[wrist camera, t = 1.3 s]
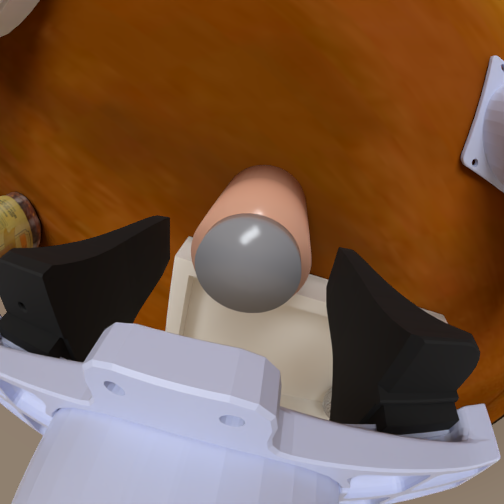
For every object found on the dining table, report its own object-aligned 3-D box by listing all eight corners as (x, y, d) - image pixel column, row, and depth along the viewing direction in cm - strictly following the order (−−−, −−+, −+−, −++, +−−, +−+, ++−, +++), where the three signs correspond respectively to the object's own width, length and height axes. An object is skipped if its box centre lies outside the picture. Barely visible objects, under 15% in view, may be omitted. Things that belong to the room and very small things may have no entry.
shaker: (318, 180, 16) (333, 236, 10) (290, 251, 18) (286, 332, 12) (235, 154, 16) (196, 193, 10) (216, 228, 18) (177, 299, 12)
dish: (443, 314, 19) (454, 336, 17) (359, 408, 26) (361, 427, 24) (188, 236, 19) (175, 256, 16) (169, 362, 26) (161, 382, 23)
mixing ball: (367, 379, 23) (371, 411, 20) (348, 399, 24) (350, 429, 21) (332, 372, 23) (334, 407, 20) (315, 393, 24) (315, 425, 21)
